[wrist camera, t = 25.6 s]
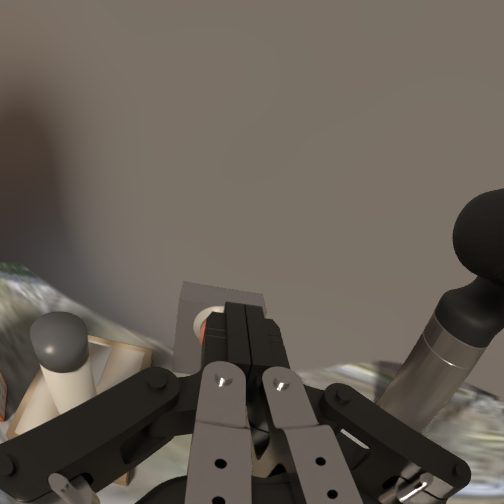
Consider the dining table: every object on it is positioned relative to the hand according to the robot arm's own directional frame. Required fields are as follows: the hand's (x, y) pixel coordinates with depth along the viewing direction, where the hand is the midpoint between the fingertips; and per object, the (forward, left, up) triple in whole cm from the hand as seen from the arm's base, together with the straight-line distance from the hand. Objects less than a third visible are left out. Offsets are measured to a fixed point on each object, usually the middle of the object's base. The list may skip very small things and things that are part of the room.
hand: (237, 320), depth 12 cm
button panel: (-1, -19, -23) cm, 30 cm away
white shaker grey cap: (+12, -4, -21) cm, 24 cm away
